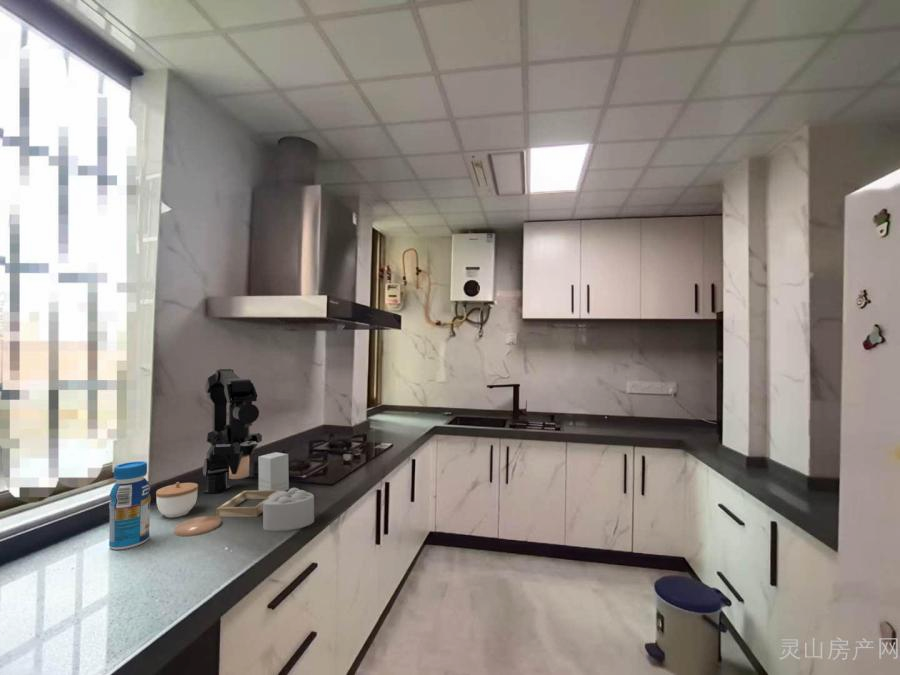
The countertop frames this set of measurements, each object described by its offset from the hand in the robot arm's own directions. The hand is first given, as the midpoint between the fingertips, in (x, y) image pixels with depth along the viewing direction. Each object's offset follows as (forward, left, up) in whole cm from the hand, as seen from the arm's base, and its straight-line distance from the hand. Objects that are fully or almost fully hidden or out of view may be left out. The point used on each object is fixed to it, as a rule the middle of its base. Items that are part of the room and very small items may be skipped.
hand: (239, 471), depth 125 cm
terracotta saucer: (+11, -6, -12) cm, 18 cm away
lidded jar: (+1, -18, -12) cm, 22 cm away
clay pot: (0, 0, -2) cm, 2 cm away
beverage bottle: (+20, -18, -12) cm, 30 cm away
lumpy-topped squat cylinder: (+9, +19, -13) cm, 25 cm away
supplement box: (-19, +2, -12) cm, 23 cm away
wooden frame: (-4, +1, -12) cm, 13 cm away
